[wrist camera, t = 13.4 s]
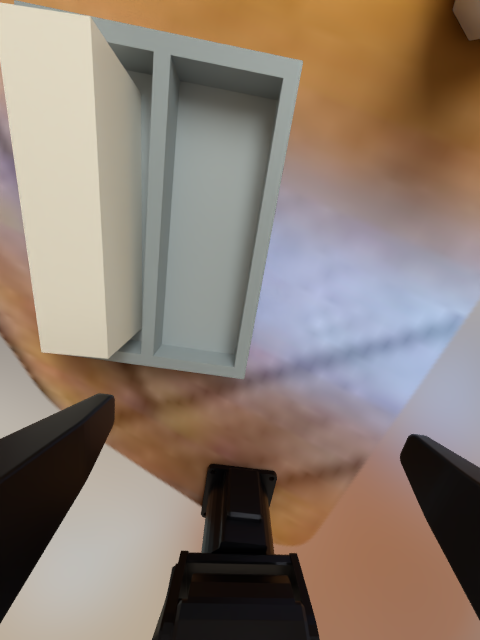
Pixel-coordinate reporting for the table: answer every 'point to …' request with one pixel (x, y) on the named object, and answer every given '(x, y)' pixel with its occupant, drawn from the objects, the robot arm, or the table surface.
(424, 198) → the table surface
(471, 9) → the salt shaker
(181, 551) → the robot arm
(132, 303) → the cream rectangular block
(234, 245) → the divided grey tray
